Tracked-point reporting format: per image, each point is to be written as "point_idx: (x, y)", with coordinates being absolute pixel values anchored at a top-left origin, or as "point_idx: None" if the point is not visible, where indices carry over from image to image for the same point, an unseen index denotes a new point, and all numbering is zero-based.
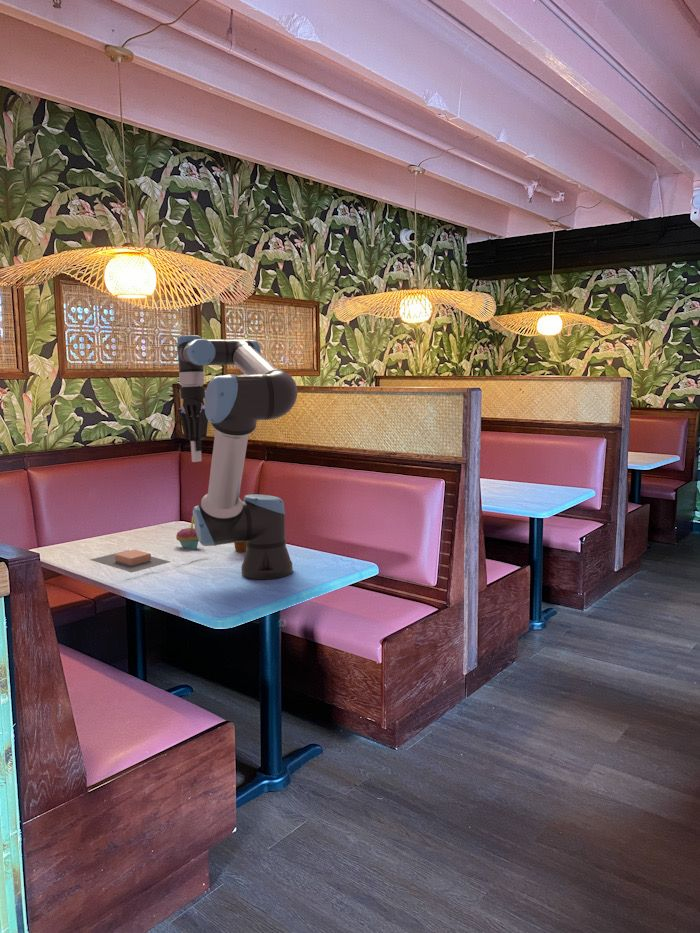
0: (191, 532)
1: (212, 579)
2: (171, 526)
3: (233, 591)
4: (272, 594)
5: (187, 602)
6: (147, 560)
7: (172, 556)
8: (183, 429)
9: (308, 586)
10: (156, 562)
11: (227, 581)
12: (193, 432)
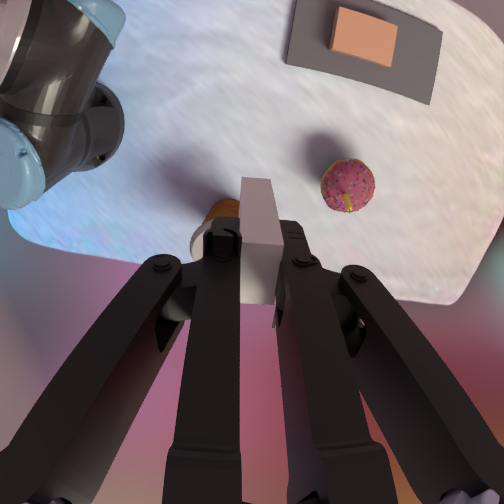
0: (334, 180)
1: (134, 40)
2: (453, 280)
3: None
4: None
5: None
6: (330, 42)
7: (331, 114)
8: (408, 325)
9: None
10: (310, 47)
11: None
12: (285, 330)
